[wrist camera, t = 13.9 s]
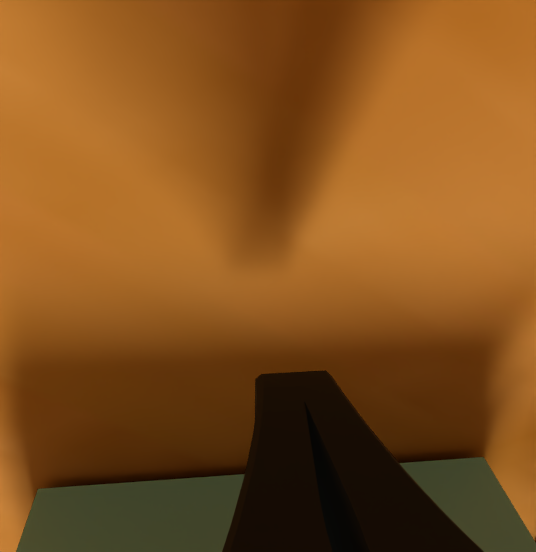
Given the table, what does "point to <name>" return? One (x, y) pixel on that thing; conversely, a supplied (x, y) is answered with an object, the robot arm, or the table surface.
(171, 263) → the table surface
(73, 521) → the tray
